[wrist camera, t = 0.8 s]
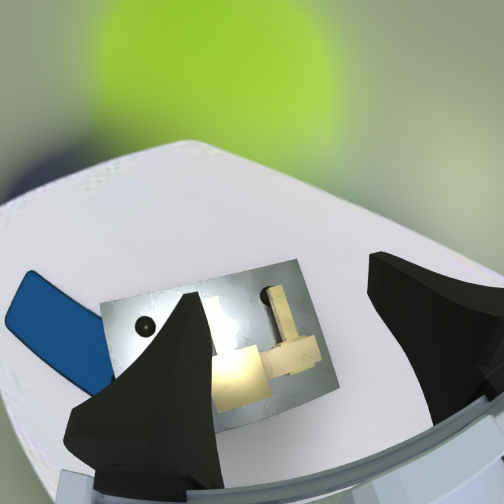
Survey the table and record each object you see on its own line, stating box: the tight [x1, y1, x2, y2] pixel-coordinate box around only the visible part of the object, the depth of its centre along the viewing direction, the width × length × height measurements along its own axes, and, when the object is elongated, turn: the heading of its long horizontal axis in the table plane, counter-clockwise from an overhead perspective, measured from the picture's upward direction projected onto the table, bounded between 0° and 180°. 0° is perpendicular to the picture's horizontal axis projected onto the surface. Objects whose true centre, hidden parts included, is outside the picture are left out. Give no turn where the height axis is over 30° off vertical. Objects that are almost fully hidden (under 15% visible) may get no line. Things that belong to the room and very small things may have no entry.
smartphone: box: [5, 270, 116, 397], centre depth 22 cm, size 7×1×15 cm
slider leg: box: [202, 297, 272, 413], centre depth 21 cm, size 8×4×5 cm, turn 17°
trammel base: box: [100, 259, 340, 433], centre depth 23 cm, size 14×20×3 cm
